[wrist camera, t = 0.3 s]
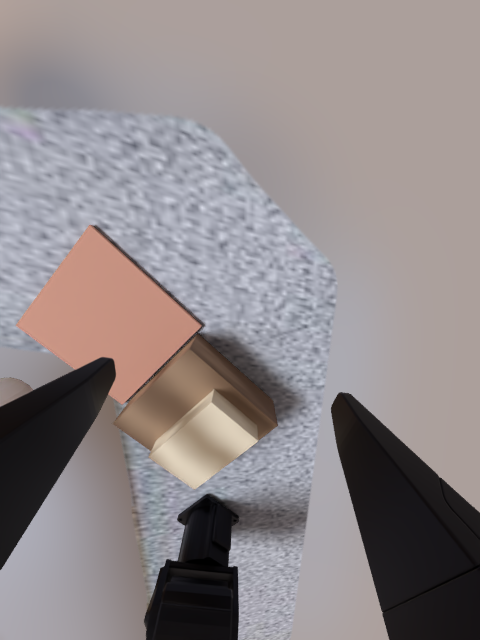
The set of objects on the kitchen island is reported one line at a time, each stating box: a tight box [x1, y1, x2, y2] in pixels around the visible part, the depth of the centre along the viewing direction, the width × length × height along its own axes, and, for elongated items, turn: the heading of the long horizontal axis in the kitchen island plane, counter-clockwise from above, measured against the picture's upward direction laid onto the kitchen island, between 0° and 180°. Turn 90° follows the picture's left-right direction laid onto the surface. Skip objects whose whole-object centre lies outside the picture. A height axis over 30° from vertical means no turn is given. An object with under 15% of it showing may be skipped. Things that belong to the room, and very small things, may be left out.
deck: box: [113, 334, 278, 451], centre depth 25 cm, size 12×12×4 cm
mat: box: [16, 225, 202, 405], centre depth 24 cm, size 14×14×1 cm
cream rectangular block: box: [149, 389, 258, 490], centre depth 23 cm, size 9×6×2 cm, turn 135°
